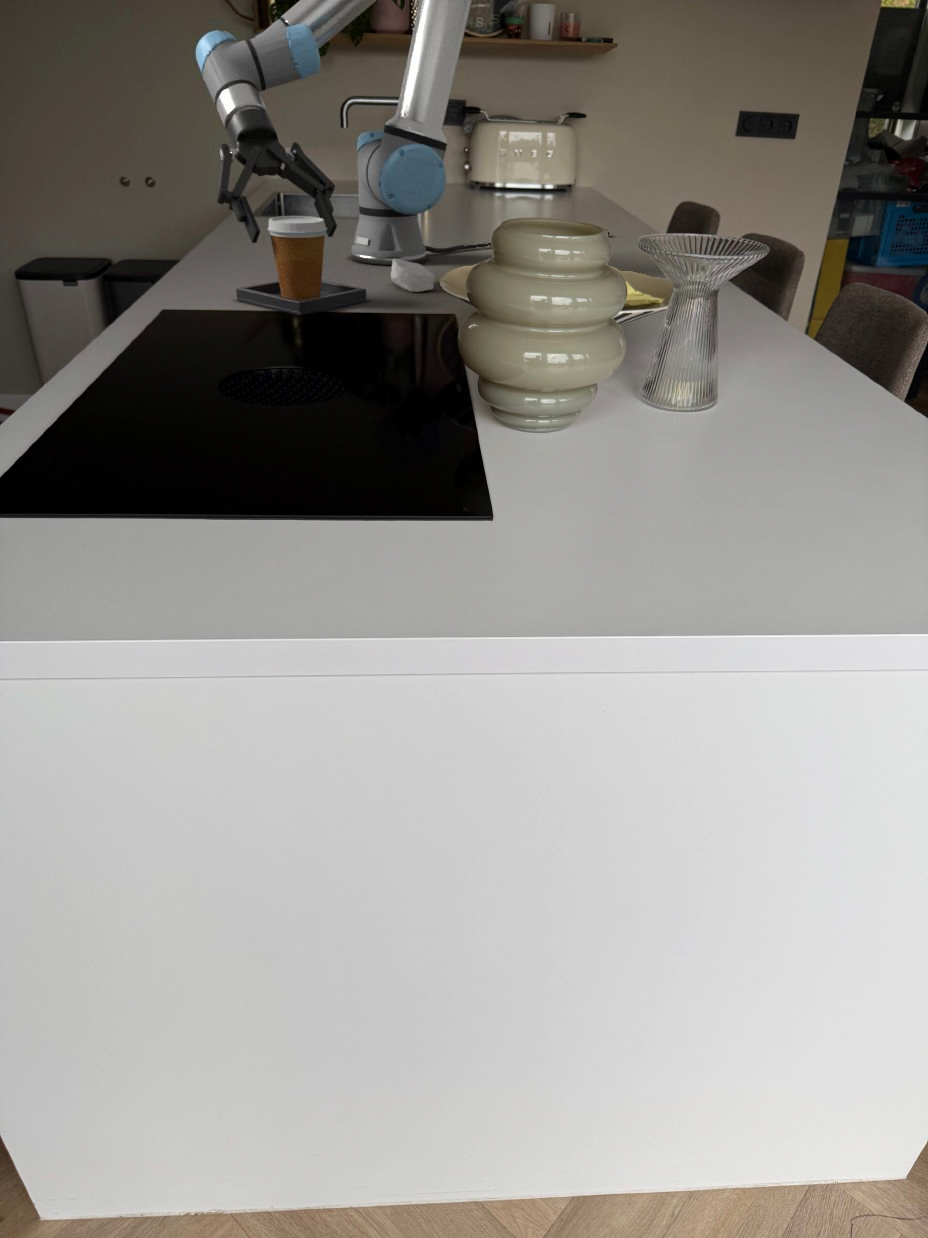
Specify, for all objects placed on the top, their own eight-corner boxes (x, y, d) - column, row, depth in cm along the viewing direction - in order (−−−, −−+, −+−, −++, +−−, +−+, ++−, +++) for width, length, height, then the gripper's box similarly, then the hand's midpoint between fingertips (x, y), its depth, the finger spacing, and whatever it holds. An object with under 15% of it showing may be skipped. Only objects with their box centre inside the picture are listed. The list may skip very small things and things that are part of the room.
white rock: (427, 311, 163) (439, 281, 159) (394, 302, 160) (405, 272, 157) (417, 282, 169) (428, 253, 166) (385, 274, 167) (395, 244, 163)
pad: (304, 287, 161) (303, 275, 160) (366, 301, 153) (366, 288, 152) (236, 300, 150) (235, 287, 149) (300, 315, 143) (299, 302, 142)
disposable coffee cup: (260, 299, 149) (254, 220, 143) (291, 289, 157) (286, 213, 150) (311, 306, 146) (307, 225, 140) (340, 295, 154) (337, 218, 148)
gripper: (309, 139, 160) (355, 243, 157) (170, 141, 147) (217, 255, 145) (322, 105, 154) (370, 213, 151) (177, 105, 141) (226, 223, 138)
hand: (295, 234), depth 148 cm, fingers open, 13 cm apart
